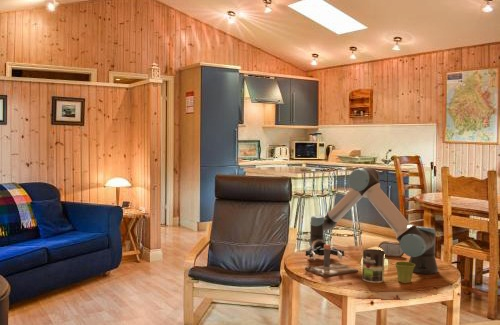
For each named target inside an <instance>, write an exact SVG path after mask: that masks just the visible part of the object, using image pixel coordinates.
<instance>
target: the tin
mask: <svg viewBox="0 0 500 325" xmlns="http://www.w3.org/2000/svg"><path fill="white" fill-rule="evenodd" d="M379 247H380V248H382V249H383V250H384V252H385V255H386V256H385V257H393V258H401V257H402V256H403V255H405V254H404V253H403V252H402V250H401V248H400V243H399V242H397V241H387V240H385V241H384V240H383V241H381V242H380V243H379V244H378V248H379Z"/></svg>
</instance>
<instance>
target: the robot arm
mask: <svg viewBox="0 0 500 325" xmlns="http://www.w3.org/2000/svg"><path fill="white" fill-rule="evenodd" d="M348 185H349V187H350V188H351V189H350V190H349V191H348V192H346V194H345V195H344V196H343V197H342V198H341V199H340V200H339V201H338V202H337V203H336V204H335V205H334V207H332V209H330V211H329V212H328V213H327V214H326V215H325V216H323V215H312V216H311V218H310V232H309V233H310V237H309V240H308V244H309V248H307V249H306V250H305V256H306V257H309V258H312V259H313V260H314V261H315V260H316V255H317V256H320V257H324V244H327V243H326V242H325V241H324V238H325V237H324V236H325V231H329V230H332V229H334V228H335V227H337V224H338V222H339V221H340V220H341V219H342V218H343V217H344V216H346V214H348V212H349V211H350V210H351V209H352V208H353V207H355V205H357V203H358V202H359V201H360V200H361V199H362V198H366V199H367V200H368V201H369V202H370V203H371V205H372V206H373V207H374V208H375V209H376V211H377V212H378V213H379V215H380V216H381V218H383V219H384V220H385V222H386V223H387V225H389V227H390V228H391V229H392V230H393V232H394V233H395V236H396V237H395V239H396V240H397V241H398V243H400V248H401V250H402V252H403V253H404V254H403V255H406V256H408V257H410V258H409V261H408V262H411V263H414V264H415V267H414V269H413V273H417V274H423V275H432V274H434V275H435V274H437V273H439V267H438V265H437V264H438V263H437V261H436V260H437V259H436V236H437V233H436V231H437V230H436V229H435V228H434V227H428V226H419V225H417V226H416V225H415V224H411V223H410V222H409V221H408V219H407V218H406V217H405V216H404V214H402V212H401V211H400V210H399V209H398V207H396V205H395V204H394V203H393V202H392V200H391V199H390V197H388V195H387V194H386V193H385V192H384V191H383V189H382V188H381V183H380V174H379V172H378V171H377V170H376V169H375V168H373V167H359V168H355V169H354V170H352V171H351V173H350V174H349V176H348ZM330 255H332V256H337V258H338V259H339V260H340V261H341V260H343V257H344V256H345V251H344V250H342V249H338V248H336V247H332V246H331V249H330Z"/></svg>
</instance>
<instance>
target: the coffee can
mask: <svg viewBox="0 0 500 325" xmlns="http://www.w3.org/2000/svg"><path fill="white" fill-rule="evenodd" d="M362 253H363V254H362V277H361V278H362V281H364V282H367V283H371V284H376V283H377V284H380V283H383V282H384V281H385V280H384V276H385V275H384V270H385V256H384V254H385V252H384V251H381V250H379V249H375V248H374V249H373V248H368V249H363V250H362Z"/></svg>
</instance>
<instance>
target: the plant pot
mask: <svg viewBox="0 0 500 325" xmlns="http://www.w3.org/2000/svg"><path fill="white" fill-rule="evenodd" d="M394 264H395V267H396V275H397V281H398V282H399V283H401V284H408V283H409V284H410V283H412V280H413V279H412V278H413V273H414V272H413V269H414V267H415V264H414V263H411V262H409V261H396V262H395V263H394Z"/></svg>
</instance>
